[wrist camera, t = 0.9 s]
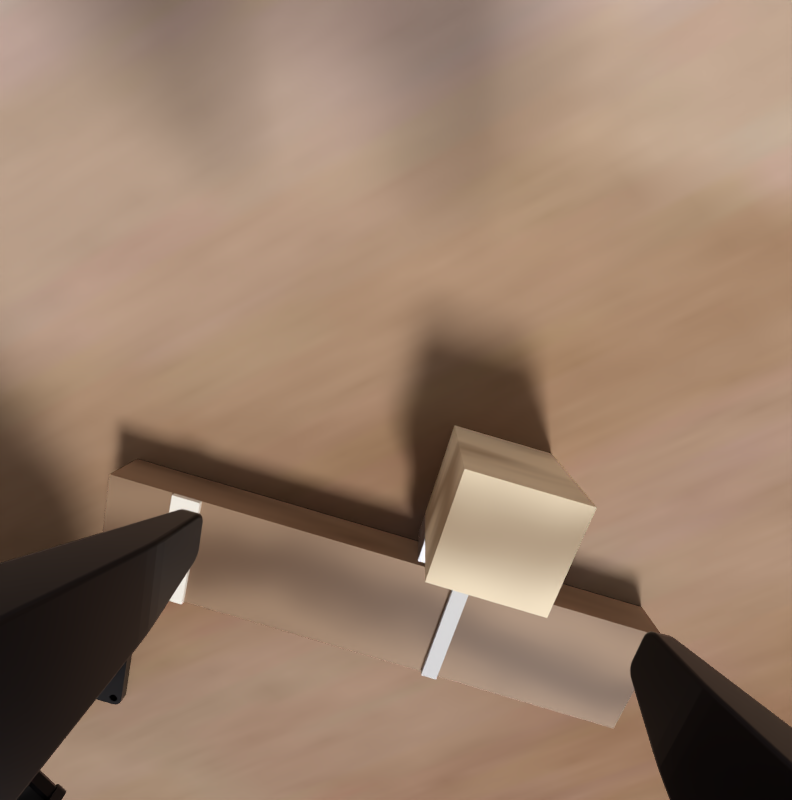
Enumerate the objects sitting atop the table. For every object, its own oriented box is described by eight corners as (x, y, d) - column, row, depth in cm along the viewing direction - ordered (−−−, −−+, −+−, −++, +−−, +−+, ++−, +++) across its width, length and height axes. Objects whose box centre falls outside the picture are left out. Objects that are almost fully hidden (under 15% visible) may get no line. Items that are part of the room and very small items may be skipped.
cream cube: (509, 558, 22) (536, 642, 16) (418, 532, 22) (416, 606, 16) (551, 453, 20) (596, 507, 15) (454, 425, 20) (464, 468, 15)
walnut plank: (597, 692, 23) (615, 732, 21) (125, 553, 23) (94, 578, 21) (641, 607, 22) (665, 640, 20) (137, 458, 22) (106, 475, 20)
